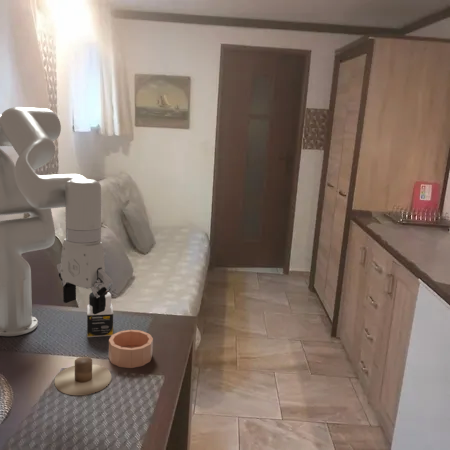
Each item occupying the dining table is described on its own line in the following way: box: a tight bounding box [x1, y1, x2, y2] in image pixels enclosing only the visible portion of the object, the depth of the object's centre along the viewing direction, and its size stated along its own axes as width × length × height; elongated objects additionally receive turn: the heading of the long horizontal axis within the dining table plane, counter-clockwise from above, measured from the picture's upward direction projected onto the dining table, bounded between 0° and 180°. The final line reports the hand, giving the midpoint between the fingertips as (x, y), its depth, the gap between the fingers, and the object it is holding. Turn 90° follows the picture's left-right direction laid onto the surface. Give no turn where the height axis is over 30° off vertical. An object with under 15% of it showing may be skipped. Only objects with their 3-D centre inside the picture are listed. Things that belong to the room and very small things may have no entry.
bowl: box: [108, 329, 154, 369], centre depth 126 cm, size 11×11×5 cm
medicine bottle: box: [86, 289, 114, 338], centre depth 138 cm, size 7×7×12 cm
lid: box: [54, 356, 112, 396], centre depth 115 cm, size 13×13×5 cm
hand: (83, 306), depth 111 cm, fingers open, 9 cm apart
